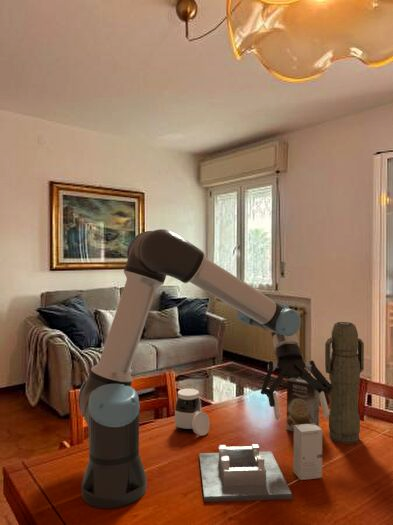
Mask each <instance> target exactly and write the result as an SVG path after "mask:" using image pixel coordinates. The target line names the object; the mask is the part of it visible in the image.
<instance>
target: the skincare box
mask: <svg viewBox="0 0 393 525" xmlns="http://www.w3.org/2000/svg"><path fill="white" fill-rule="evenodd" d="M292 470H293V473H294V474H295V476H296V477H297V478H298V480H301V481H304V480H313V479H321V478H322V477H323V429H322V428H321V427H318V426H317V425H316V424H301V425H294V431H293V469H292Z"/></svg>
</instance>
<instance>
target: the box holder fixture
mask: <svg viewBox="0 0 393 525" xmlns="http://www.w3.org/2000/svg"><path fill="white" fill-rule="evenodd" d="M198 454H199V455H198V457H199V458H198V460H199V467H200V474H201V475H200V476H201V486H202V495H203V501H204V502H205V503H208V502H209V503H212V502H238V501H239V502H240V501H241V502H243V501H244V502H245V501H270V500H271V501H272V500H273V501H274V500H292V499H293V495H292V494H293V493H292V490H290V487H289V486H288V483H287V481H286V479H285V477H284V475H283V473H282V471H281V469H280V467H279V464H278V462H277V461H276V458H275V457H274V454H273V451H260V446H259V444H258V443H252V444H251V445H250V446H248V445H247V446H226V444H219V446H218V452H202V453H201V452H200V453H198Z"/></svg>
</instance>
